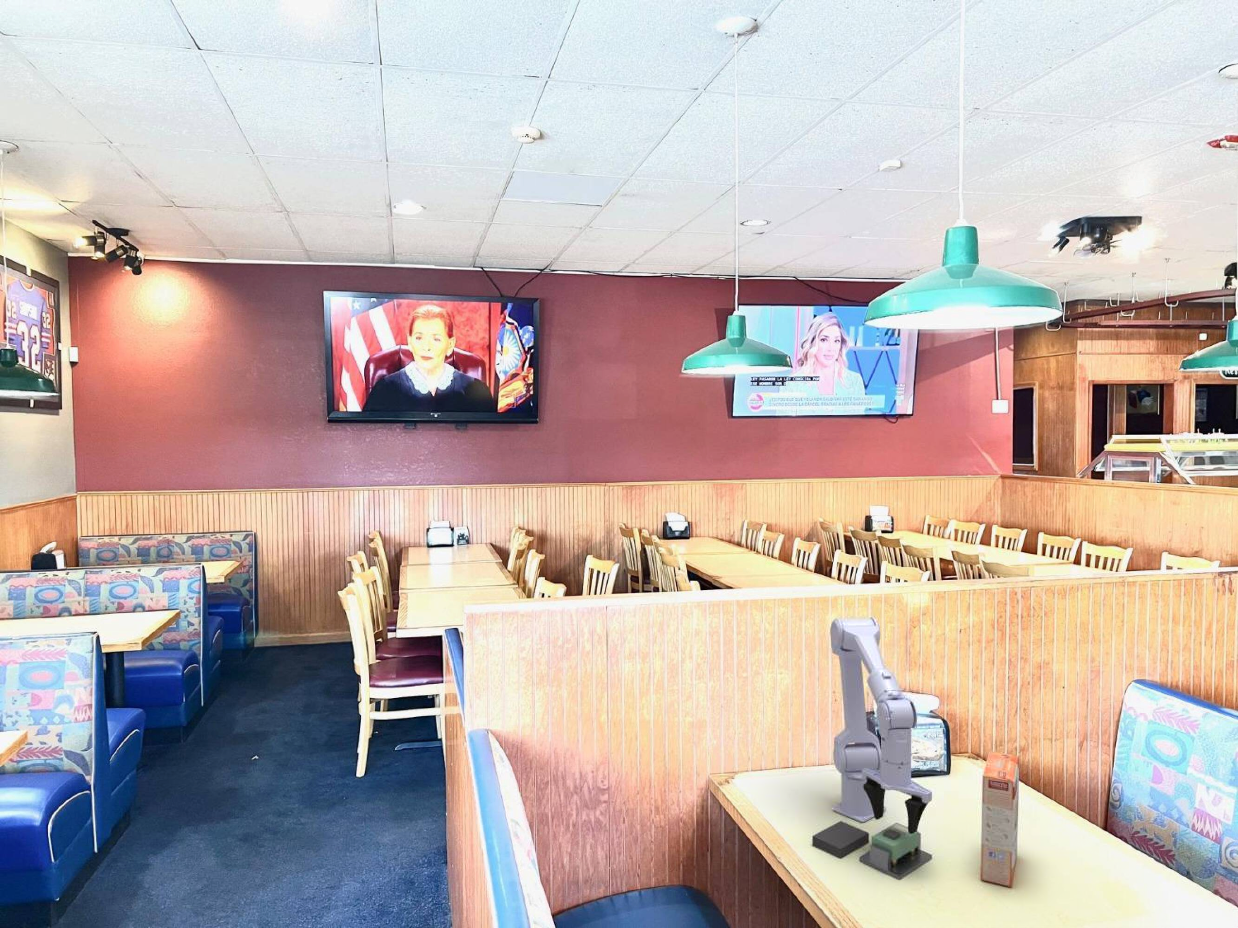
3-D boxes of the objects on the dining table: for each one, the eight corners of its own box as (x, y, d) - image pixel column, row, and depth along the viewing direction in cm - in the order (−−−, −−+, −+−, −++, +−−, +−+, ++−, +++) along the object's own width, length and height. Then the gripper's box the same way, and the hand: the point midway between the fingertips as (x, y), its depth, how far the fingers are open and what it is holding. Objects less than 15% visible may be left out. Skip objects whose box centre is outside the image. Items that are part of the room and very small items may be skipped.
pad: (840, 829, 176) (840, 820, 176) (868, 842, 170) (868, 832, 170) (812, 845, 169) (812, 835, 169) (840, 858, 164) (840, 848, 164)
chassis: (892, 841, 171) (892, 821, 170) (932, 858, 164) (932, 837, 164) (859, 860, 163) (859, 840, 163) (899, 879, 156) (899, 858, 156)
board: (896, 836, 168) (896, 819, 168) (918, 845, 164) (918, 828, 164) (871, 851, 162) (871, 833, 162) (893, 861, 158) (893, 843, 158)
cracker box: (1014, 889, 152) (1015, 780, 152) (979, 880, 155) (980, 774, 155) (1019, 855, 165) (1020, 754, 164) (987, 848, 168) (987, 748, 167)
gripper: (853, 752, 166) (853, 817, 166) (918, 776, 154) (918, 845, 155) (873, 743, 170) (872, 807, 171) (937, 765, 159) (937, 833, 160)
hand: (895, 824), depth 163 cm, fingers open, 7 cm apart
